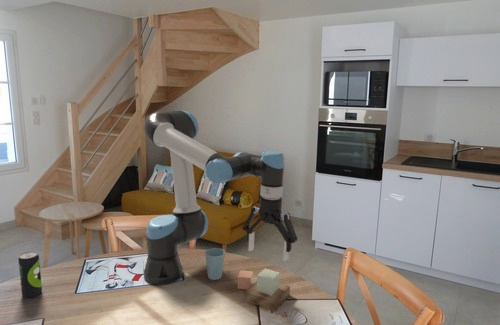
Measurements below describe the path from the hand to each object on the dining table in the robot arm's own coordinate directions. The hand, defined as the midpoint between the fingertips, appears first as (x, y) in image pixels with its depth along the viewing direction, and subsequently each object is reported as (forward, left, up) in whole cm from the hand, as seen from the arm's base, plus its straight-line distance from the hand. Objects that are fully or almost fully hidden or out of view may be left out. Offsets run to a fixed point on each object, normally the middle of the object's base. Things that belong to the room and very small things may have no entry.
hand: (267, 254), depth 132 cm
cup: (-25, +3, -17) cm, 30 cm away
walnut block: (0, 0, -17) cm, 17 cm away
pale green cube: (+1, 0, -13) cm, 13 cm away
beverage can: (-73, -42, -17) cm, 86 cm away
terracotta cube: (-11, +3, -17) cm, 20 cm away
